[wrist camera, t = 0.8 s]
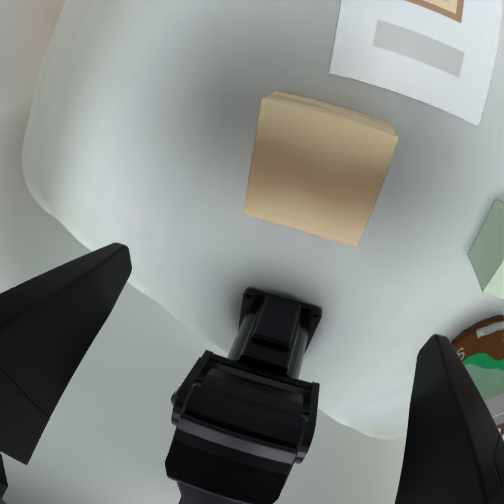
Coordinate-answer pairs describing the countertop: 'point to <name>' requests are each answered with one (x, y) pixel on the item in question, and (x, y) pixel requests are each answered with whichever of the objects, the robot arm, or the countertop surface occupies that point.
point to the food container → (485, 362)
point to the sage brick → (490, 252)
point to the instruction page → (421, 49)
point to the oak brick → (317, 166)
